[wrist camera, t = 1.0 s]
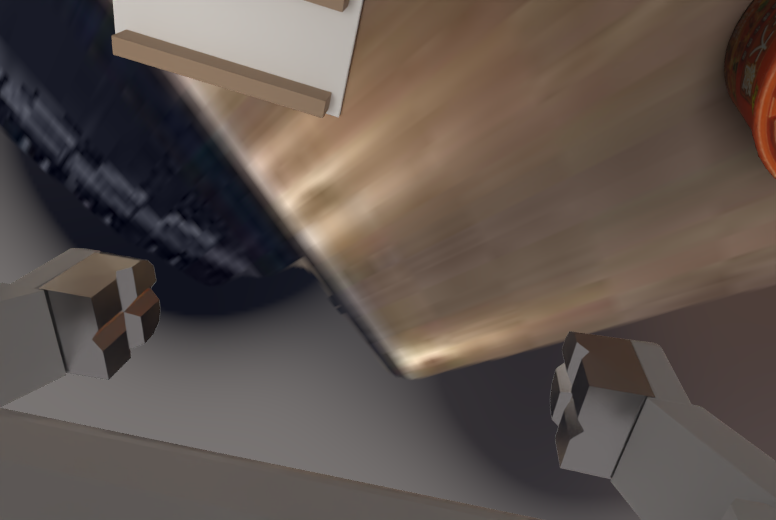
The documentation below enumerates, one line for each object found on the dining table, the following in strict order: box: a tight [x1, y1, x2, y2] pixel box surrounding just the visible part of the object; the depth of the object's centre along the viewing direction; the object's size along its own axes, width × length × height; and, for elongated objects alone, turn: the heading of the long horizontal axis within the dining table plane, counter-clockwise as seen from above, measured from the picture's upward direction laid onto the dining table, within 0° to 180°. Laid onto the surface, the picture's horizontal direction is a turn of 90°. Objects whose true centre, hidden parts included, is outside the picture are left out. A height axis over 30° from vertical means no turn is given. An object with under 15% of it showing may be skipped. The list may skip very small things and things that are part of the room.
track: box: [112, 0, 364, 118], centre depth 40 cm, size 20×11×3 cm, turn 75°
